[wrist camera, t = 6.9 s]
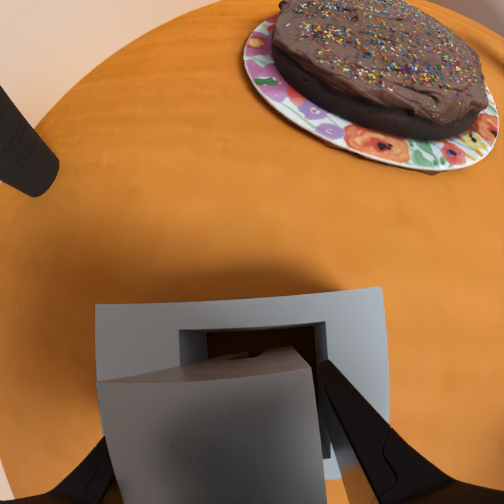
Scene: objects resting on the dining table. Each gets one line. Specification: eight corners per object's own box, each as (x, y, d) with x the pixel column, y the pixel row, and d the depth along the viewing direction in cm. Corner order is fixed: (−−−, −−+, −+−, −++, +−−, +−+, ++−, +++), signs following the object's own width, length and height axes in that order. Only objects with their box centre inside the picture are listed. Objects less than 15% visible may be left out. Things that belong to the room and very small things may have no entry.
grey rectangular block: (300, 408, 16) (329, 544, 3) (234, 416, 16) (138, 540, 3) (291, 345, 17) (311, 367, 4) (225, 354, 17) (95, 381, 5)
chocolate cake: (361, 240, 19) (393, 194, 12) (202, 42, 27) (190, -2, 21) (525, 132, 20) (551, 100, 13) (378, 3, 28) (383, -29, 22)
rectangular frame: (362, 439, 14) (386, 469, 10) (146, 441, 16) (108, 465, 11) (356, 300, 17) (381, 286, 12) (138, 313, 18) (95, 304, 13)
